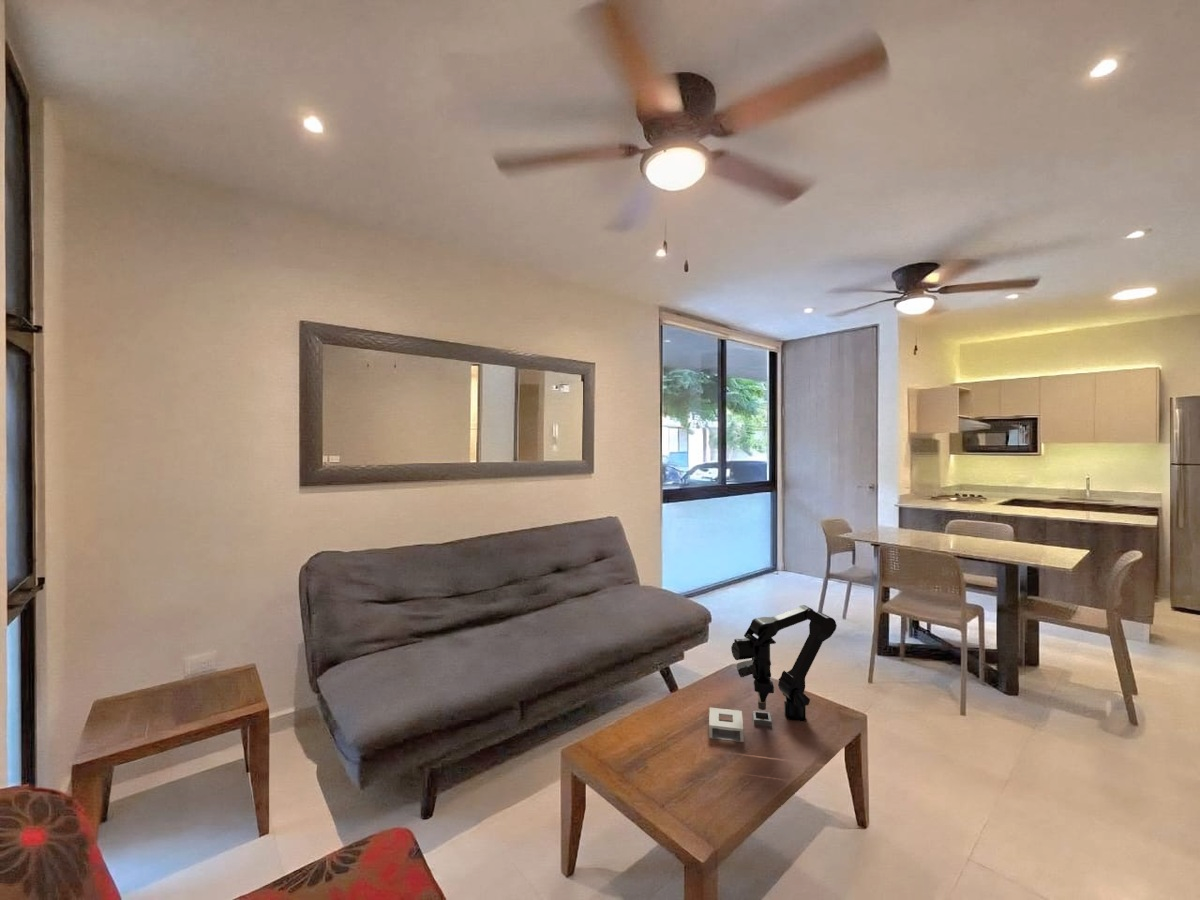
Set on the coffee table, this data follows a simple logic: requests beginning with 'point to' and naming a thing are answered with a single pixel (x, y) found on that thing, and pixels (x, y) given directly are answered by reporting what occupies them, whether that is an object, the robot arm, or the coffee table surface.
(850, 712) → the coffee table surface
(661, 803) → the coffee table surface
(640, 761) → the coffee table surface
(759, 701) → the beige rounded rod
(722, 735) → the breaker box
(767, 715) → the holder
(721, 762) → the coffee table surface
